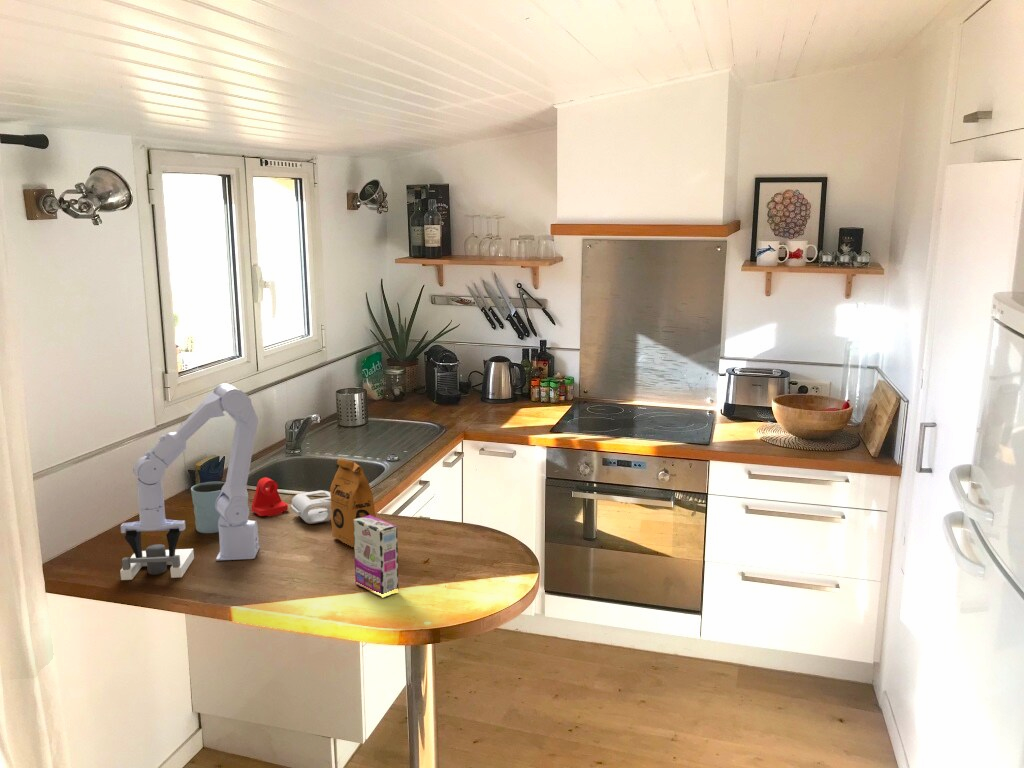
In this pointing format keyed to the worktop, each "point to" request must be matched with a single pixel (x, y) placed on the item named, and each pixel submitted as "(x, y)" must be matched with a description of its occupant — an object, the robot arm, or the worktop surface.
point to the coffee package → (349, 500)
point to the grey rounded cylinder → (156, 551)
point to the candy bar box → (376, 554)
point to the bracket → (267, 499)
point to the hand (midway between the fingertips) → (156, 558)
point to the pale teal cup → (206, 506)
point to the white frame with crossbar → (177, 561)
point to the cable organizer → (304, 504)
